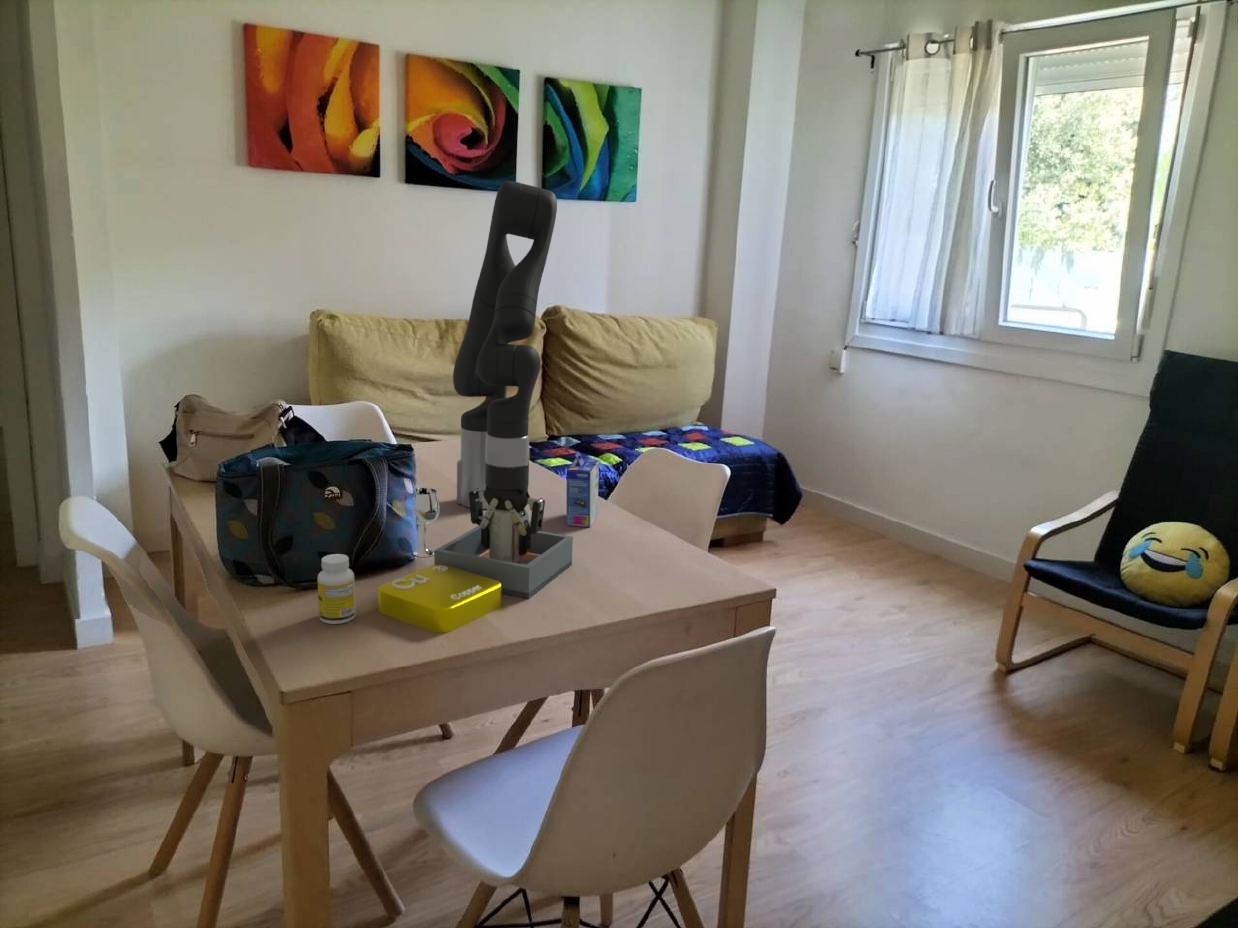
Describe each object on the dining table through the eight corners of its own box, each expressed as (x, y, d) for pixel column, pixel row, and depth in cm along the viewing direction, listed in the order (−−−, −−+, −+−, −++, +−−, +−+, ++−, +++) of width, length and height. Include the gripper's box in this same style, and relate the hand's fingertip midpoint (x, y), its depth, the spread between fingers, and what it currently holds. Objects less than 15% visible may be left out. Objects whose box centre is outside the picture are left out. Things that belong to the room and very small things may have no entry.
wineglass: (445, 551, 174) (445, 490, 171) (427, 560, 169) (427, 497, 166) (420, 545, 176) (420, 485, 173) (401, 554, 171) (401, 492, 168)
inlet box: (434, 580, 160) (434, 550, 158) (484, 549, 176) (485, 521, 175) (528, 598, 154) (529, 567, 152) (571, 564, 170) (572, 536, 169)
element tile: (442, 638, 139) (442, 608, 138) (372, 612, 147) (372, 584, 145) (506, 606, 151) (507, 579, 150) (438, 584, 159) (438, 558, 158)
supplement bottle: (323, 610, 145) (321, 551, 143) (358, 611, 146) (357, 552, 144) (315, 625, 140) (313, 564, 138) (351, 625, 141) (350, 564, 138)
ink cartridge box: (573, 511, 202) (575, 447, 198) (598, 514, 201) (600, 449, 198) (564, 525, 192) (566, 458, 189) (590, 527, 192) (593, 460, 188)
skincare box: (522, 565, 163) (524, 511, 161) (499, 569, 161) (500, 514, 159) (510, 556, 168) (511, 502, 165) (488, 559, 165) (488, 505, 163)
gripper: (459, 459, 159) (459, 550, 163) (535, 470, 154) (533, 564, 158) (481, 450, 166) (480, 538, 170) (554, 460, 161) (551, 551, 165)
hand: (505, 550), depth 164 cm, fingers closed on skincare box, 6 cm apart
